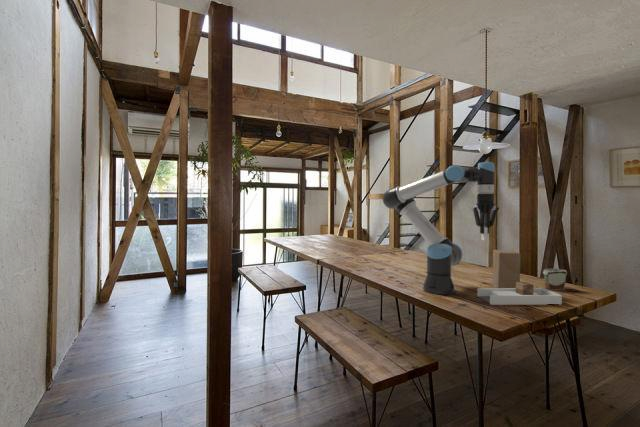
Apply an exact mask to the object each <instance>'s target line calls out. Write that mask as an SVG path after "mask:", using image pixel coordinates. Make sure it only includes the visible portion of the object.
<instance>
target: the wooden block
mask: <svg viewBox="0 0 640 427" xmlns="http://www.w3.org/2000/svg"><path fill="white" fill-rule="evenodd" d="M521 261H522V260H521V253H520V252H518V251H516V250H512V249H504V250H503V249H493V250H492V276H491V279H492V280H491V286H492V287H493V288H516V282H521Z"/></svg>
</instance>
